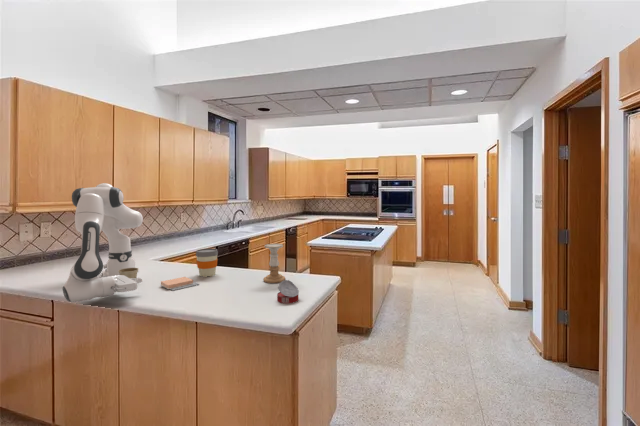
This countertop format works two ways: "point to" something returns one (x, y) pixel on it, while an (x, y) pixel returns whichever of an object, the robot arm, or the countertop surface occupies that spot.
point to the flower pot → (129, 272)
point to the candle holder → (274, 265)
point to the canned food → (287, 292)
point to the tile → (176, 282)
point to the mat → (184, 286)
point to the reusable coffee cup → (207, 261)
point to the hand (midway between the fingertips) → (140, 279)
